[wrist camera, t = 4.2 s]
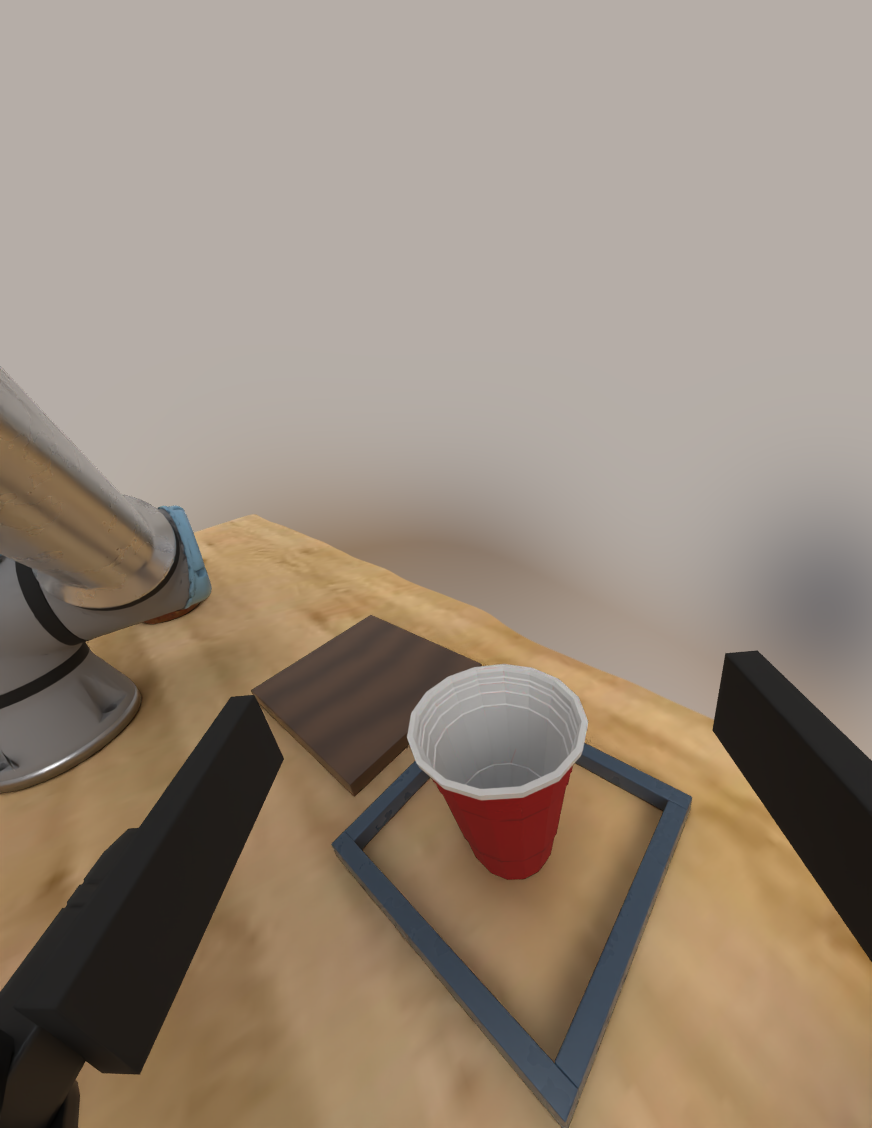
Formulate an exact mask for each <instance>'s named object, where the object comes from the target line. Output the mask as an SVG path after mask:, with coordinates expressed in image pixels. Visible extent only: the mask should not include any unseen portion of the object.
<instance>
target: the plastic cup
mask: <svg viewBox="0 0 872 1128" xmlns="http://www.w3.org/2000/svg"><path fill="white" fill-rule="evenodd" d="M587 726H588V720H587V717H586V715H585V712H584V710H583V707H582V704H581V702H580V699H579V697H578V696H577V695H576V694H575V693H573V692H572V691H571V690H570V689H569V688H568V687H567V686H566V685H565V684H564V683H563V682H561V681H560V680H559V679H558V678H555V677H553V676H551V675H548V674H546V673H544V672H541V671H539V670H536V669H534V668H530V667H522V666H515V665H507V664H499V665H490V666H480V667H474V668H471V669H468V670H465V671H462V672H460V673H457V674H454V675H451V676H449V677H447V678H446V679H444V680H443V681H441V682H440V683H438V684H437V685H436V686H434V687H433V688H431V689H430V690H428V691H427V692H426V693H425V694H424V696H423V697H422V699H421V700H420V701H419V703H418V704H417V706H416V707H415V708H414V710H413V711H412V713H411V717H410V723H409V728H408V734H407V739H408V742H409V745H410V747H411V750H412V753H413V755H414V758H415V761H416V763H417V765H418V766H419V768H420V769H422V770H423V771H424V772H425V773H426V774H427V775H429V776H430V777H431V778H432V780H433V782H434V783H436V785H437V787H438V789H439V791H440V792H441V793H442V794H443V796H444V798H445V800H446V802H447V804H448V806H449V808H450V810H451V812H452V814H453V816H454V818H455V820H456V822H457V824H458V825H459V827H460V829H461V831H462V833H463V835H464V837H465V839H466V840H467V841H468V842H469V844H470V846H471V848H472V850H473V852H474V854H475V856H476V858H477V859H478V860H479V861H480V862H481V863H482V864H483V865H484V866H485V867H486V868H487V869H488V870H489V871H490V872H491V873H492V874H495V875H497V876H500V877H502V878H504V879H507V880H512V879H525V878H527V877H529V876H531V875H533V874H535V873H537V872H539V870H540V869H541V868H542V866H543V865H544V863H545V862H546V861H547V859H548V857H549V856H550V855H551V850H552V845H553V841H554V837H555V835H556V833H557V828H558V823H559V818H560V814H561V809H562V804H563V799H564V794H565V789H566V786H567V785H568V782H569V777H570V773H571V772H572V768H573V764H574V763H575V762H576V761H577V760H578V759H579V757H580V756H581V754H582V751H583V747H584V741H585V736H586V731H587Z"/></svg>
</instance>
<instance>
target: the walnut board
mask: <svg viewBox="0 0 872 1128" xmlns="http://www.w3.org/2000/svg"><path fill="white" fill-rule="evenodd" d="M480 666H482V664H480V663H478V662H476V661H474V660H471V659H469V658H467V657H465V656H462V655H460V654H458V653H456V652H453V651H451V650H449V649H447V648H444V647H442V646H440V645H438V644H435V643H433V642H431V641H429V640H426V639H424V638H422V637H420V636H417V635H415V634H413V633H411V632H408V631H406V630H404V629H402V628H399V627H397V626H395V625H393V624H390V623H388V622H386V621H384V620H381V619H379V618H377V617H375V616H372V615H370V616H368V617H367V618H365V619H364V620H362V621H360V622H359V623H357V624H356V625H354V626H352V627H351V628H349V629H348V630H346V631H344V632H343V633H341V634H340V635H338V636H336V637H335V638H333V639H332V640H330V641H328V642H327V643H325V644H324V645H322V646H321V647H319V648H317V649H316V650H314V651H313V652H311V653H309V654H308V655H306V656H305V657H303V658H301V659H300V660H298V661H297V662H295V663H293V664H292V665H290V666H289V667H287V668H286V669H284V670H282V671H281V672H279V673H278V674H276V675H274V676H273V677H271V678H270V679H268V680H266V681H265V682H263V683H262V684H260V685H258V686H257V687H255V688H254V689H252V690H251V692H252V694H253V695H255V697H256V699H257V701H258V703H259V704H260V705H261V706H262V707H263V708H264V709H265V710H266V711H267V712H268V713H269V714H270V715H271V716H272V717H273V718H274V719H275V720H277V721H278V722H279V723H280V724H281V725H282V726H283V727H284V728H285V729H286V730H287V731H288V732H289V733H290V734H291V735H292V736H293V737H294V738H295V739H296V740H297V741H298V742H299V743H300V744H301V745H302V746H303V747H304V748H305V749H306V750H307V751H308V752H309V753H310V754H311V755H312V756H313V757H314V758H315V759H316V760H317V761H318V762H319V763H320V764H321V765H323V766H324V767H325V768H326V769H327V770H328V771H329V772H330V773H331V774H332V775H333V776H334V777H335V778H336V779H337V780H338V781H339V782H340V783H341V784H342V785H343V786H344V787H345V788H346V789H347V790H348V791H349V792H350V793H351V794H352V795H353V796H355V795H356V794H357V793H358V792H359V791H360V790H361V789H363V788H364V787H365V786H366V785H367V784H368V783H369V782H370V781H371V780H372V779H373V778H374V777H375V776H376V775H377V774H378V773H379V772H380V771H382V770H383V769H384V768H385V767H386V766H387V765H388V764H389V763H390V762H391V761H392V760H393V759H394V758H395V757H396V756H397V755H398V754H400V753H401V752H402V751H403V750H404V749H405V748H406V747H407V746H408V745H409V742H408V739H407V734H408V728H409V723H410V717H411V713H412V711H413V710H414V708H415V707H416V706H417V704H418V703H419V701H420V700H421V699H422V697H423V696H424V694H425V693H426V692H427V691H428V690H430V689H431V688H433V687H434V686H436V685H437V684H438V683H440V682H441V681H443V680H444V679H446V678H447V677H449V676H451V675H454V674H457V673H460V672H462V671H465V670H468V669H471V668H474V667H480Z"/></svg>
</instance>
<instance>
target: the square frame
mask: <svg viewBox="0 0 872 1128" xmlns="http://www.w3.org/2000/svg"><path fill="white" fill-rule="evenodd" d="M575 763H576V764H578V765H580V766H582V767H584V768H585V769H587V770H589V771H591V772H593V773H595V774H597V775H598V776H600V777H602V778H604V779H606V780H608V781H609V782H611V783H613V784H615V785H617V786H619V787H620V788H622V789H624V790H626V791H628V792H630V793H631V794H633V795H635V796H637V797H639V798H641V799H642V800H644V801H646V802H648V803H650V804H652V805H653V806H655V807H657V808H659V809H661V810H663V813H662V816H661V818H660V820H659V823H658V825H657V827H656V830H655V832H654V834H653V836H652V839H651V841H650V843H649V846H648V848H647V850H646V853H645V855H644V857H643V859H642V862H641V864H640V866H639V869H638V871H637V873H636V876H635V878H634V880H633V882H632V885H631V887H630V889H629V892H628V894H627V896H626V899H625V901H624V903H623V905H622V908H621V910H620V912H619V915H618V917H617V919H616V921H615V924H614V926H613V928H612V931H611V933H610V935H609V938H608V940H607V942H606V944H605V947H604V949H603V951H602V954H601V956H600V958H599V961H598V963H597V965H596V967H595V970H594V972H593V974H592V977H591V979H590V981H589V984H588V986H587V988H586V990H585V993H584V995H583V997H582V1000H581V1002H580V1004H579V1007H578V1009H577V1011H576V1013H575V1016H574V1018H573V1020H572V1023H571V1025H570V1027H569V1030H568V1032H567V1034H566V1036H565V1039H564V1041H563V1043H562V1046H561V1048H560V1050H559V1053H558V1055H557V1057H556V1059H555V1063H554V1062H553V1061H552V1060H551V1059H550V1058H549V1057H548V1055H547V1054H546V1053H545V1052H544V1051H543V1050H542V1049H541V1048H540V1047H539V1046H538V1044H537V1043H536V1042H535V1041H534V1040H533V1039H532V1038H531V1037H530V1036H529V1034H528V1033H527V1032H526V1031H525V1030H524V1029H523V1028H522V1027H521V1026H520V1024H519V1023H518V1022H517V1021H516V1020H515V1019H514V1018H513V1017H512V1016H511V1015H510V1013H509V1012H508V1011H507V1010H506V1009H505V1008H504V1007H503V1006H502V1005H501V1003H500V1002H499V1001H498V1000H497V999H496V998H495V997H494V996H493V995H492V994H491V992H490V991H489V990H488V989H487V988H486V987H485V986H484V985H483V984H482V982H481V981H480V980H479V979H478V978H477V977H476V976H475V975H474V974H473V973H472V971H471V970H470V969H469V968H468V967H467V966H466V965H465V964H464V963H463V961H462V960H461V959H460V958H459V957H458V956H457V955H456V954H455V953H454V952H453V950H452V949H451V948H450V947H449V946H448V945H447V944H446V943H445V942H444V940H443V939H442V938H441V937H440V936H439V935H438V934H437V933H436V932H435V931H434V929H433V928H432V927H431V926H430V925H429V924H428V923H427V922H426V921H425V919H424V918H423V917H422V916H421V915H420V914H419V913H418V912H417V911H416V910H415V908H414V907H413V906H412V905H411V904H410V903H409V902H408V901H407V900H406V898H405V897H404V896H403V895H402V894H401V893H400V892H399V891H398V890H397V888H396V887H395V886H394V885H393V884H392V883H391V882H390V881H389V880H388V879H387V877H386V876H385V875H384V874H383V873H382V872H381V871H380V870H379V869H378V867H377V866H376V865H375V864H374V863H373V862H372V861H371V860H370V859H369V858H368V856H367V855H366V854H365V853H364V852H363V851H362V849H363V848H364V847H365V845H366V844H367V843H368V842H369V841H370V840H371V839H372V838H373V837H374V836H375V835H376V834H377V833H378V832H379V831H380V830H381V828H382V827H383V826H384V825H385V824H386V823H387V822H388V821H389V820H390V819H391V818H392V817H393V816H394V815H395V814H396V813H397V812H398V810H399V809H400V808H401V807H402V806H403V805H404V804H405V803H406V802H407V801H408V800H409V799H410V798H411V797H412V796H413V795H414V793H415V792H416V791H417V790H418V789H419V788H420V787H421V786H422V785H423V784H424V783H425V782H426V781H427V780H428V779H429V778H430V776H429V775H427V774H426V773H425V772H424V771H423V770H422V769H420V768H419V766H418V765H417V763H416V761H414V762H413V763H412V764H411V765H410V766H409V767H408V768H407V769H406V770H405V771H404V772H403V773H402V774H401V775H400V776H399V777H398V778H397V779H396V780H395V781H394V782H393V783H392V784H391V785H390V786H389V787H388V788H387V789H386V790H385V791H384V792H383V793H382V794H381V795H380V796H379V797H378V798H377V799H376V800H375V801H374V802H373V803H372V804H371V805H370V806H369V807H368V808H367V809H366V810H365V811H364V812H363V813H362V814H361V815H360V816H359V817H358V818H357V819H356V820H355V821H354V822H353V823H352V824H351V825H350V826H349V827H348V828H347V829H346V830H345V831H344V832H343V833H342V834H341V835H340V836H339V837H338V838H337V839H336V840H335V841H334V842H333V843H332V844H331V845H332V847H333V849H334V851H335V854H336V856H337V857H338V858H339V860H340V861H341V862H342V863H343V864H344V866H345V867H346V868H347V869H348V870H349V872H350V873H351V874H352V875H353V876H354V878H355V879H356V880H357V881H358V883H359V884H360V885H361V886H362V887H363V889H364V890H365V891H366V892H367V893H368V895H369V896H370V897H371V898H372V899H373V901H374V902H375V903H376V904H377V905H378V907H379V908H380V909H381V910H382V911H383V913H384V914H385V915H386V916H387V917H388V919H389V920H390V921H391V922H392V924H393V925H394V926H395V927H396V928H397V930H398V931H399V932H400V933H401V934H402V936H403V937H404V938H405V939H406V940H407V942H408V943H409V944H410V945H411V946H412V948H413V949H414V950H415V951H416V952H417V954H418V955H419V956H420V957H421V959H422V960H423V961H424V962H425V963H426V965H427V966H428V967H429V968H430V969H431V971H432V972H433V973H434V974H435V975H436V977H437V978H438V979H439V980H440V981H441V983H442V984H443V985H444V986H445V987H446V989H447V990H448V991H449V992H450V993H451V995H452V996H453V997H454V998H455V1000H456V1001H457V1002H458V1003H459V1004H460V1006H461V1007H462V1008H463V1009H464V1010H465V1012H466V1013H467V1014H468V1015H469V1016H470V1018H471V1019H472V1020H473V1021H474V1022H475V1024H476V1025H477V1026H478V1027H479V1028H480V1030H481V1031H482V1032H483V1033H484V1034H485V1036H486V1037H487V1038H488V1039H489V1041H490V1042H491V1043H492V1044H493V1045H494V1047H495V1048H496V1049H497V1050H498V1051H499V1053H500V1054H501V1055H502V1056H503V1057H504V1059H505V1060H506V1061H507V1062H508V1063H509V1065H510V1066H511V1067H512V1068H513V1069H514V1071H515V1072H516V1073H517V1074H518V1075H519V1077H520V1078H521V1079H522V1080H523V1082H524V1083H525V1084H526V1085H527V1086H528V1088H529V1089H530V1090H531V1091H532V1092H533V1094H534V1095H535V1096H536V1097H537V1098H538V1100H539V1101H540V1102H541V1103H542V1104H543V1106H544V1107H545V1108H546V1109H547V1110H548V1112H549V1113H550V1114H551V1115H552V1117H553V1118H554V1119H555V1120H556V1121H557V1123H558V1124H559V1125H560V1126H561V1127H562V1128H569V1125H570V1122H571V1120H572V1117H573V1115H574V1112H575V1109H576V1107H577V1104H578V1099H579V1098H580V1096H581V1093H582V1091H583V1088H584V1086H585V1083H586V1080H587V1078H588V1075H589V1073H590V1070H591V1067H592V1065H593V1062H594V1060H595V1057H596V1054H597V1052H598V1049H599V1047H600V1044H601V1041H602V1039H603V1036H604V1034H605V1031H606V1028H607V1026H608V1023H609V1021H610V1018H611V1015H612V1013H613V1010H614V1008H615V1005H616V1002H617V1000H618V997H619V995H620V992H621V989H622V987H623V984H624V982H625V979H626V976H627V974H628V971H629V969H630V966H631V963H632V961H633V958H634V956H635V953H636V950H637V948H638V945H639V943H640V940H641V937H642V935H643V932H644V930H645V927H646V924H647V922H648V919H649V916H650V914H651V911H652V909H653V906H654V903H655V901H656V898H657V896H658V893H659V890H660V888H661V885H662V883H663V880H664V877H665V875H666V872H667V870H668V867H669V864H670V862H671V859H672V857H673V854H674V851H675V849H676V846H677V844H678V841H679V838H680V836H681V833H682V831H683V828H684V825H685V822H686V820H687V818H688V815H689V812H690V809H691V803H692V797H691V796H689V795H687V794H685V793H683V792H681V791H679V790H677V789H675V788H673V787H671V786H669V785H667V784H665V783H663V782H661V781H659V780H657V779H655V778H653V777H651V776H649V775H647V774H645V773H643V772H641V771H640V770H638V769H636V768H634V767H632V766H630V765H628V764H626V763H624V762H622V761H620V760H618V759H616V758H614V757H612V756H610V755H608V754H606V753H604V752H602V751H600V750H598V749H596V748H594V747H592V746H590V745H588V744H586V743H584V747H583V751H582V754H581V756H580V757H579V759H578V760H577V761H576V762H575Z"/></svg>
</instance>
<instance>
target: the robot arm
mask: <svg viewBox="0 0 872 1128" xmlns="http://www.w3.org/2000/svg"><path fill="white" fill-rule="evenodd" d="M211 590H212V588H211V583H210V580H209V577H208V574H207V571H206V568H205V565H204V562H203V559H202V556H201V553H200V550H199V547H198V544H197V542H196V539H195V536H194V533H193V531H192V528H191V526H190V523H189V520H188V518H187V515H186V514H185V512H184V510H183V508H181V507H179V506H170V507H167V506H161V507H159V508H158V509H156V508H155V507H153V506H152V505H150V504H148V503H147V502H145V501H143V500H140V499H137V498H135V497H131V496H127V495H122V494H121V493H120V492H119V491H118V490H117V489H116V488H115V487H114V486H113V485H112V484H111V483H110V481H109V480H108V479H107V478H106V477H105V476H104V475H103V474H102V473H101V472H100V471H99V470H98V469H97V468H96V467H95V466H94V465H93V464H92V462H91V461H90V460H89V459H88V458H87V457H86V456H85V455H84V454H83V453H82V452H81V451H80V450H79V449H78V448H77V447H76V446H75V445H74V443H72V441H71V440H70V439H69V438H68V437H67V436H66V435H65V434H64V433H63V432H62V431H61V430H60V429H59V428H58V427H57V425H55V423H54V422H52V420H51V419H50V418H49V417H48V416H47V415H46V414H45V413H44V412H43V411H42V410H41V409H40V408H39V406H38V405H37V404H36V403H35V402H34V401H33V400H32V399H31V398H30V397H29V396H28V395H27V394H26V393H25V392H24V391H23V389H21V388H20V386H19V385H18V384H17V383H16V382H15V381H14V380H13V379H12V378H11V377H10V376H9V375H8V374H7V373H6V372H5V370H4V369H3V368H2V367H1V366H0V793H7V792H12V791H17V790H21V789H25V788H28V787H31V786H34V785H36V784H39V783H42V782H44V781H46V780H49V779H51V778H53V777H55V776H57V775H59V774H61V773H63V772H65V771H67V770H69V769H71V768H72V767H74V766H76V765H78V764H79V763H81V762H83V761H84V760H86V759H87V758H89V757H90V756H92V755H93V754H95V753H96V752H97V751H99V750H100V749H101V748H103V747H104V746H105V745H107V744H108V743H109V742H110V741H111V740H113V739H114V738H115V737H116V736H117V735H118V734H119V733H120V732H121V731H122V730H123V729H124V728H125V727H126V726H127V725H128V724H129V723H130V721H131V720H132V719H133V717H134V716H135V714H136V713H137V711H138V709H139V707H140V704H141V694H140V692H139V690H138V689H137V687H136V685H135V684H134V683H133V682H132V681H131V680H130V679H129V678H128V677H127V676H125V675H124V674H122V673H121V672H119V671H118V670H117V669H115V668H114V667H112V666H111V665H109V664H108V663H107V662H105V661H104V660H102V659H101V658H99V657H98V656H96V655H95V654H94V653H93V652H92V651H91V650H90V648H89V647H88V645H87V644H86V641H89V640H92V639H94V638H97V637H100V636H102V635H105V634H108V633H111V632H114V631H117V630H120V629H123V628H126V627H129V626H132V625H135V624H138V623H141V622H144V621H147V620H150V619H153V618H156V617H159V616H162V615H165V614H168V613H171V612H174V611H177V610H180V609H181V610H183V609H187V608H189V607H190V606H191V605H193V604H196V603H198V602H200V601H203V600H205V599H206V598H208V597H209V595H210V594H211ZM713 732H714V733H715V735H716V736H717V737H718V739H719V740H720V742H721V743H722V745H723V746H724V748H725V749H726V751H727V752H728V753H729V755H730V756H731V758H732V759H733V761H734V762H735V764H736V765H737V767H738V768H739V769H740V771H741V772H742V774H743V775H744V777H745V778H746V780H747V781H748V783H749V784H750V785H751V787H752V788H753V790H754V791H755V793H756V794H757V796H758V797H759V799H760V800H761V802H762V803H763V804H764V806H765V807H766V809H767V810H768V812H769V813H770V815H771V816H772V818H773V819H774V820H775V822H776V823H777V825H778V826H779V828H780V829H781V831H782V832H783V834H784V835H785V836H786V838H787V839H788V841H789V842H790V844H791V845H792V847H793V848H794V850H795V851H796V852H797V854H798V855H799V857H800V858H801V860H802V861H803V863H804V864H805V866H806V867H807V869H808V870H809V871H810V873H811V874H812V876H813V877H814V879H815V880H816V882H817V883H818V885H819V886H820V887H821V889H822V890H823V892H824V893H825V895H826V896H827V898H828V899H829V901H830V902H831V903H832V905H833V906H834V908H835V909H836V911H837V912H838V914H839V915H840V917H841V918H842V919H843V921H844V922H845V924H846V925H847V927H848V928H849V930H850V931H851V933H852V934H853V935H854V937H855V938H856V940H857V941H858V943H859V944H860V946H861V947H862V949H863V950H864V952H865V953H866V954H867V956H868V957H869V959H870V960H871V962H872V761H871V760H870V759H869V758H868V757H867V756H866V755H865V754H864V753H863V752H862V751H861V750H860V749H859V748H858V747H857V746H856V745H855V744H854V743H853V742H852V741H851V740H850V739H849V738H848V737H847V736H846V735H844V734H843V733H842V732H841V731H840V730H839V729H838V728H837V727H836V726H835V725H834V724H833V723H832V722H831V721H830V720H829V719H828V718H827V717H826V716H825V715H824V714H823V713H822V712H821V711H820V710H819V709H817V708H816V707H815V706H814V705H813V704H812V703H811V702H810V701H809V700H808V699H807V698H806V697H805V696H804V695H803V694H802V693H801V692H800V691H799V690H798V689H797V688H796V687H795V686H794V685H793V684H792V683H790V682H789V681H788V680H787V679H786V678H785V677H784V676H783V675H782V674H781V673H780V672H779V671H778V670H777V669H776V668H775V667H774V666H773V665H772V664H771V663H770V662H769V661H768V660H767V659H766V658H765V657H763V655H761V654H760V653H759V652H758V651H748V652H736V653H726V654H725V660H724V665H723V671H722V677H721V683H720V689H719V695H718V701H717V707H716V713H715V719H714V725H713ZM283 760H284V758H283V756H282V753H281V751H280V749H279V747H278V745H277V743H276V740H275V738H274V736H273V734H272V732H271V729H270V727H269V725H268V723H267V721H266V719H265V716H264V714H263V712H262V710H261V708H260V706H259V703H258V701H257V699H256V697H255V695H247V696H236V697H231V698H230V699H229V700H228V702H227V703H226V705H225V706H224V707H223V709H222V710H221V712H220V713H219V715H218V716H217V717H216V719H215V720H214V722H213V723H212V725H211V726H210V727H209V729H208V730H207V732H206V733H205V734H204V736H203V737H202V739H201V740H200V742H199V743H198V744H197V746H196V747H195V749H194V750H193V752H192V753H191V754H190V756H189V757H188V759H187V760H186V762H185V763H184V764H183V766H182V767H181V769H180V770H179V771H178V773H177V774H176V776H175V777H174V779H173V780H172V781H171V783H170V784H169V786H168V787H167V789H166V790H165V791H164V793H163V794H162V796H161V797H160V799H159V800H158V801H157V803H156V804H155V806H154V807H153V808H152V810H151V811H150V813H149V814H148V816H147V817H146V818H145V820H144V821H143V823H142V824H141V826H140V827H139V828H131V829H128V830H127V831H126V832H125V833H124V834H122V835H121V836H120V837H119V838H118V839H117V840H116V841H115V842H114V843H113V844H112V845H111V846H110V847H109V848H108V849H107V850H106V851H104V853H103V854H102V855H101V857H100V858H99V859H98V861H97V862H96V863H95V865H94V866H93V867H92V869H91V870H90V872H89V873H88V874H87V876H86V877H85V878H84V882H83V884H82V885H79V886H78V888H77V889H76V890H75V892H74V893H73V895H72V896H71V897H70V899H69V900H68V901H67V906H66V907H65V908H62V909H61V911H60V912H59V913H58V915H57V916H56V917H55V919H54V920H53V922H52V923H51V924H50V926H49V927H48V928H47V930H46V931H45V932H44V934H43V935H42V936H41V938H40V939H39V940H38V942H37V943H36V945H35V946H34V947H33V949H32V950H31V951H30V953H29V954H28V955H27V957H26V958H25V959H24V961H23V962H22V963H21V965H20V966H19V967H18V969H17V970H16V972H15V973H14V974H13V976H12V977H11V978H10V980H9V981H8V982H7V984H6V985H5V986H4V988H3V989H2V990H1V992H0V1128H78V1118H79V1102H80V1093H79V1087H78V1082H77V1081H76V1080H75V1079H76V1078H77V1076H78V1074H79V1072H80V1070H81V1068H82V1067H83V1065H84V1063H85V1061H86V1062H88V1063H89V1064H91V1065H92V1066H93V1067H95V1068H96V1069H97V1070H99V1071H100V1072H101V1073H112V1074H139V1075H140V1073H141V1071H142V1068H143V1066H144V1064H145V1062H146V1060H147V1058H148V1055H149V1053H150V1051H151V1049H152V1047H153V1044H154V1042H155V1040H156V1038H157V1036H158V1033H159V1031H160V1029H161V1027H162V1025H163V1023H164V1020H165V1018H166V1016H167V1014H168V1012H169V1009H170V1007H171V1005H172V1003H173V1001H174V998H175V996H176V994H177V992H178V990H179V987H180V985H181V983H182V981H183V979H184V977H185V974H186V972H187V970H188V968H189V966H190V963H191V961H192V959H193V957H194V955H195V952H196V950H197V948H198V946H199V944H200V942H201V939H202V937H203V935H204V933H205V931H206V928H207V926H208V924H209V922H210V920H211V917H212V915H213V913H214V911H215V909H216V906H217V904H218V902H219V900H220V898H221V896H222V893H223V891H224V889H225V887H226V885H227V882H228V880H229V878H230V876H231V874H232V871H233V869H234V867H235V865H236V863H237V860H238V858H239V856H240V854H241V852H242V850H243V847H244V845H245V843H246V841H247V839H248V836H249V834H250V832H251V830H252V828H253V825H254V823H255V821H256V819H257V817H258V815H259V812H260V810H261V808H262V806H263V804H264V801H265V799H266V797H267V795H268V793H269V790H270V788H271V786H272V784H273V782H274V779H275V777H276V775H277V773H278V771H279V769H280V766H281V764H282V762H283Z"/></svg>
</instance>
